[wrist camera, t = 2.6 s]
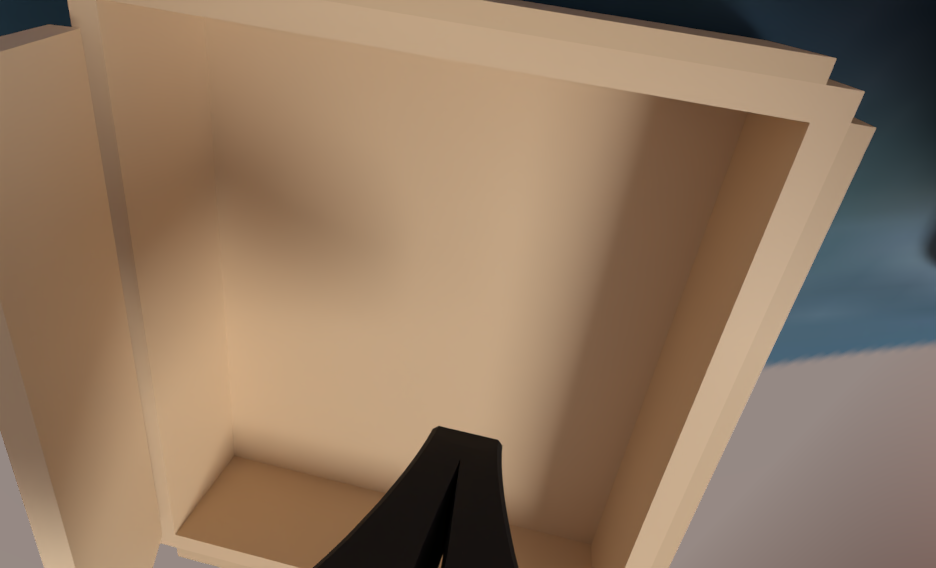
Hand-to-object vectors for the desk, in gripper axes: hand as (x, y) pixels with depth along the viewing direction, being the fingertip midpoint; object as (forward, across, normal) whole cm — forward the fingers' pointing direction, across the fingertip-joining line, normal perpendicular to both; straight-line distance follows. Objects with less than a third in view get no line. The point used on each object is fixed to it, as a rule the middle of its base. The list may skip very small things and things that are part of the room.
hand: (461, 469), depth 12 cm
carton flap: (-1, +8, 0) cm, 8 cm away
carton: (+6, +2, 0) cm, 6 cm away
